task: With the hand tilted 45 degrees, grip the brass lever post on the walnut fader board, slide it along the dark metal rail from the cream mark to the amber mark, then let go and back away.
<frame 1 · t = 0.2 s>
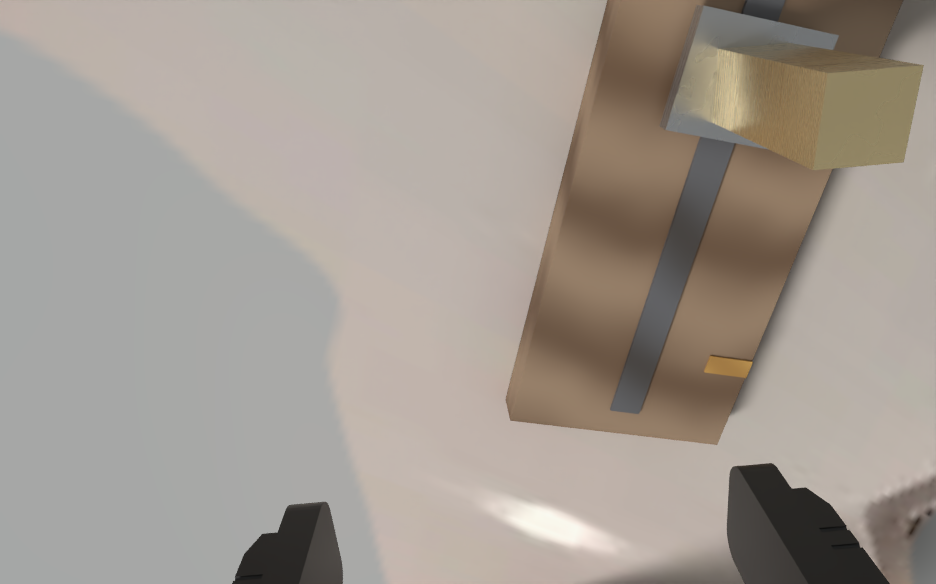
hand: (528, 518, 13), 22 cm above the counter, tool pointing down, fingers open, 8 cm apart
fader board: (671, 215, 34), on the counter
fader lever: (794, 97, 25), point 7 cm above the counter, slide at -7.0 cm
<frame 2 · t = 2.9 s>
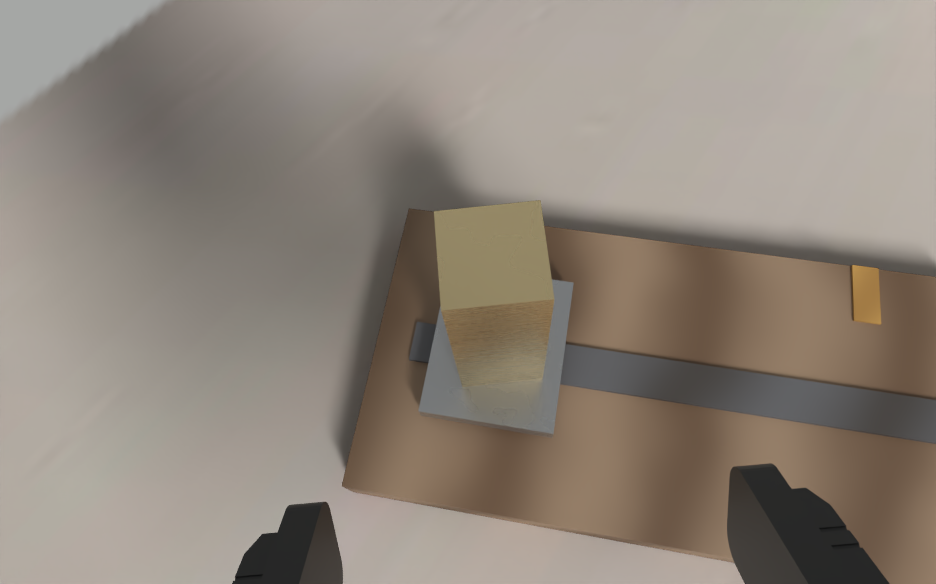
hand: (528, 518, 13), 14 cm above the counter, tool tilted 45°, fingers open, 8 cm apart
fader board: (667, 395, 28), on the counter
fader lever: (496, 311, 22), point 7 cm above the counter, slide at -7.0 cm
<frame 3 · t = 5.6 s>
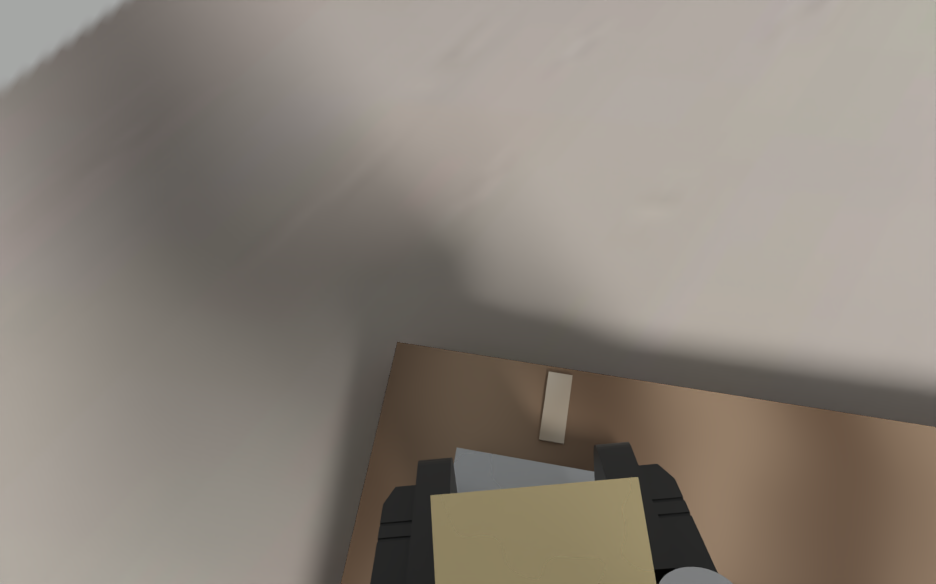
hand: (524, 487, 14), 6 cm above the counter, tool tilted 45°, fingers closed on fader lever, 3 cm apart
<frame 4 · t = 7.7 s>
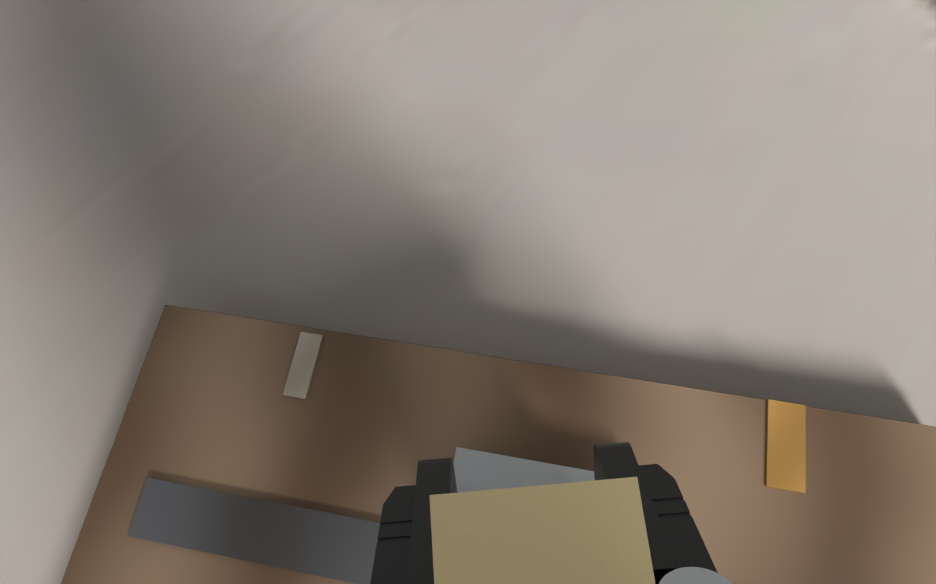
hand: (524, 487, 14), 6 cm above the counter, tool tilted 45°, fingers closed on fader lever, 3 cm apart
fader board: (507, 579, 20), on the counter
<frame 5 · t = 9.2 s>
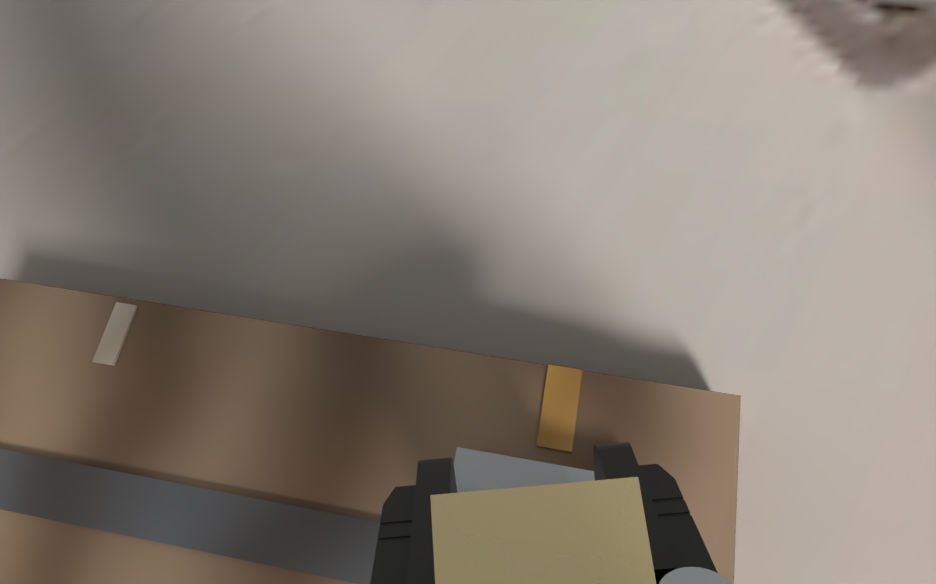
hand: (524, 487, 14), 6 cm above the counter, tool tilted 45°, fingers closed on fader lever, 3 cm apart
fader board: (304, 538, 20), on the counter
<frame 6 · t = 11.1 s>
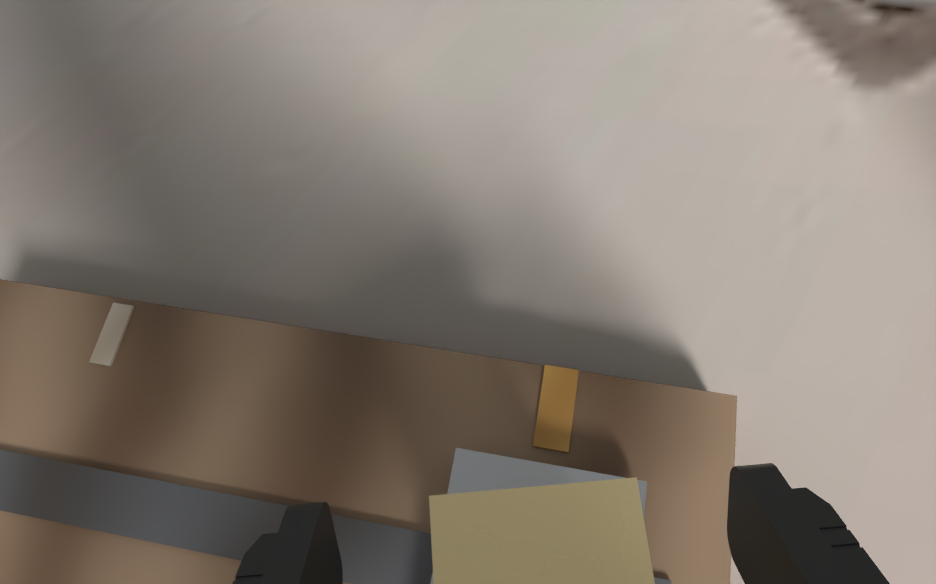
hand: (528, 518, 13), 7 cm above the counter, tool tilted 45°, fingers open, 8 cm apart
fader board: (301, 538, 20), on the counter
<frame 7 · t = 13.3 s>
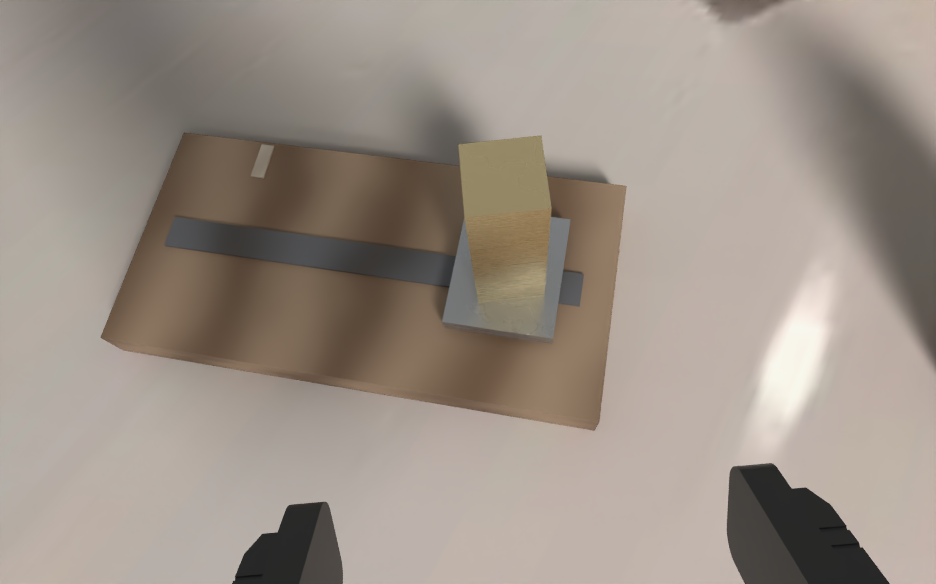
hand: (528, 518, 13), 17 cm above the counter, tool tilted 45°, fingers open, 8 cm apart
fader board: (375, 276, 35), on the counter
fader lever: (506, 233, 28), point 7 cm above the counter, slide at 7.0 cm
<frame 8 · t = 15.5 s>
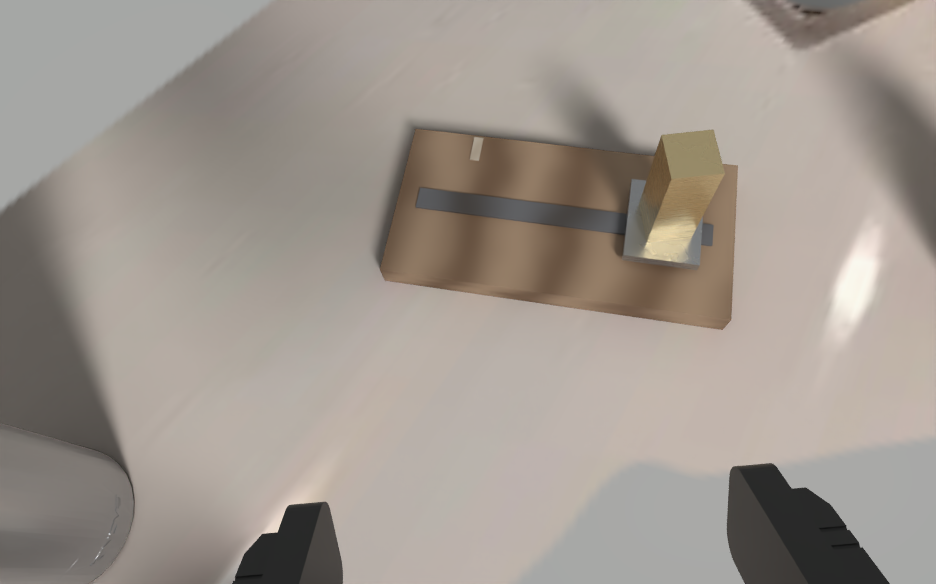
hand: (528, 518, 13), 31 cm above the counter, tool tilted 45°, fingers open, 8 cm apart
fader board: (559, 229, 50), on the counter
fader lever: (676, 193, 43), point 7 cm above the counter, slide at 7.0 cm
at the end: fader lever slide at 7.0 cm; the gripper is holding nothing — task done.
